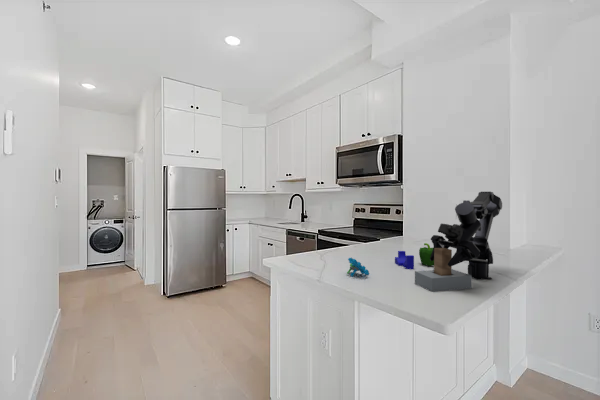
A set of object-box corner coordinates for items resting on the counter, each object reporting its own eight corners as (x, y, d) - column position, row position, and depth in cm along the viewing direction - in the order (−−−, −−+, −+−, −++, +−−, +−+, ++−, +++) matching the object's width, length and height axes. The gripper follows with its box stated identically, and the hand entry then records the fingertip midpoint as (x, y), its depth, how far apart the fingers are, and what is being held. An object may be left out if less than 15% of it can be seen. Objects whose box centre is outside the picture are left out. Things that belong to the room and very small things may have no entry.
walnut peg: (443, 281, 109) (443, 247, 109) (451, 284, 105) (451, 249, 105) (433, 282, 108) (434, 248, 108) (441, 285, 104) (441, 250, 104)
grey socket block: (451, 280, 113) (451, 269, 113) (471, 288, 104) (471, 275, 104) (414, 283, 109) (414, 271, 109) (432, 291, 100) (432, 278, 100)
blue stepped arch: (394, 263, 143) (394, 250, 143) (404, 263, 143) (404, 251, 143) (403, 269, 131) (403, 256, 131) (413, 269, 131) (413, 256, 131)
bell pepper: (442, 266, 135) (443, 245, 135) (426, 267, 134) (426, 245, 134) (431, 262, 144) (432, 242, 144) (416, 263, 142) (416, 242, 142)
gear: (374, 274, 116) (357, 256, 115) (365, 286, 114) (347, 268, 113) (361, 271, 126) (345, 255, 125) (353, 282, 125) (336, 265, 124)
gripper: (434, 214, 116) (409, 243, 114) (473, 217, 98) (444, 252, 96) (451, 233, 118) (427, 262, 116) (492, 240, 100) (464, 275, 98)
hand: (439, 262), depth 106 cm, fingers open, 9 cm apart
